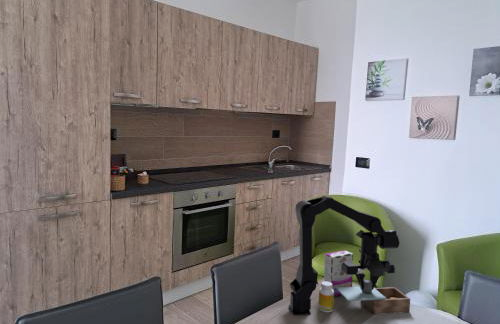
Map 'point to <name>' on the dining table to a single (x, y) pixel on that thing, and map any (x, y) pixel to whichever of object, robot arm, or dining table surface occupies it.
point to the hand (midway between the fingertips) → (366, 289)
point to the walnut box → (389, 302)
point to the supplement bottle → (326, 297)
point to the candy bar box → (337, 270)
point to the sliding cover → (361, 292)
